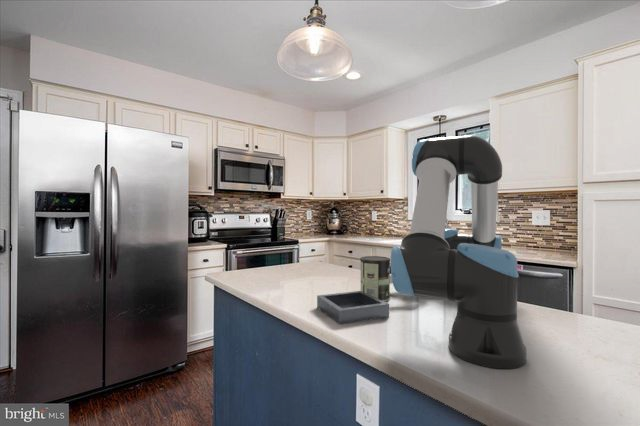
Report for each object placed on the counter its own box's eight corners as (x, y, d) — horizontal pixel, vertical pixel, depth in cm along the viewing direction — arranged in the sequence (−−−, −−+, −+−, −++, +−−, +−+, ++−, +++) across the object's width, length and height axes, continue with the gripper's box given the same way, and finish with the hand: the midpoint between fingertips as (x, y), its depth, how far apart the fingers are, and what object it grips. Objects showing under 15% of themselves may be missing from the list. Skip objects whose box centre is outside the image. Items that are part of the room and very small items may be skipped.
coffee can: (386, 294, 117) (387, 255, 117) (392, 302, 107) (393, 260, 107) (358, 294, 118) (358, 255, 117) (361, 302, 107) (361, 260, 107)
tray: (389, 317, 93) (389, 304, 93) (339, 324, 87) (339, 310, 87) (361, 301, 108) (361, 290, 108) (317, 307, 102) (317, 295, 102)
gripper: (451, 288, 110) (399, 294, 102) (405, 274, 133) (360, 278, 125) (451, 266, 110) (399, 271, 102) (406, 256, 133) (360, 259, 125)
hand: (378, 275), depth 113 cm, fingers open, 13 cm apart
